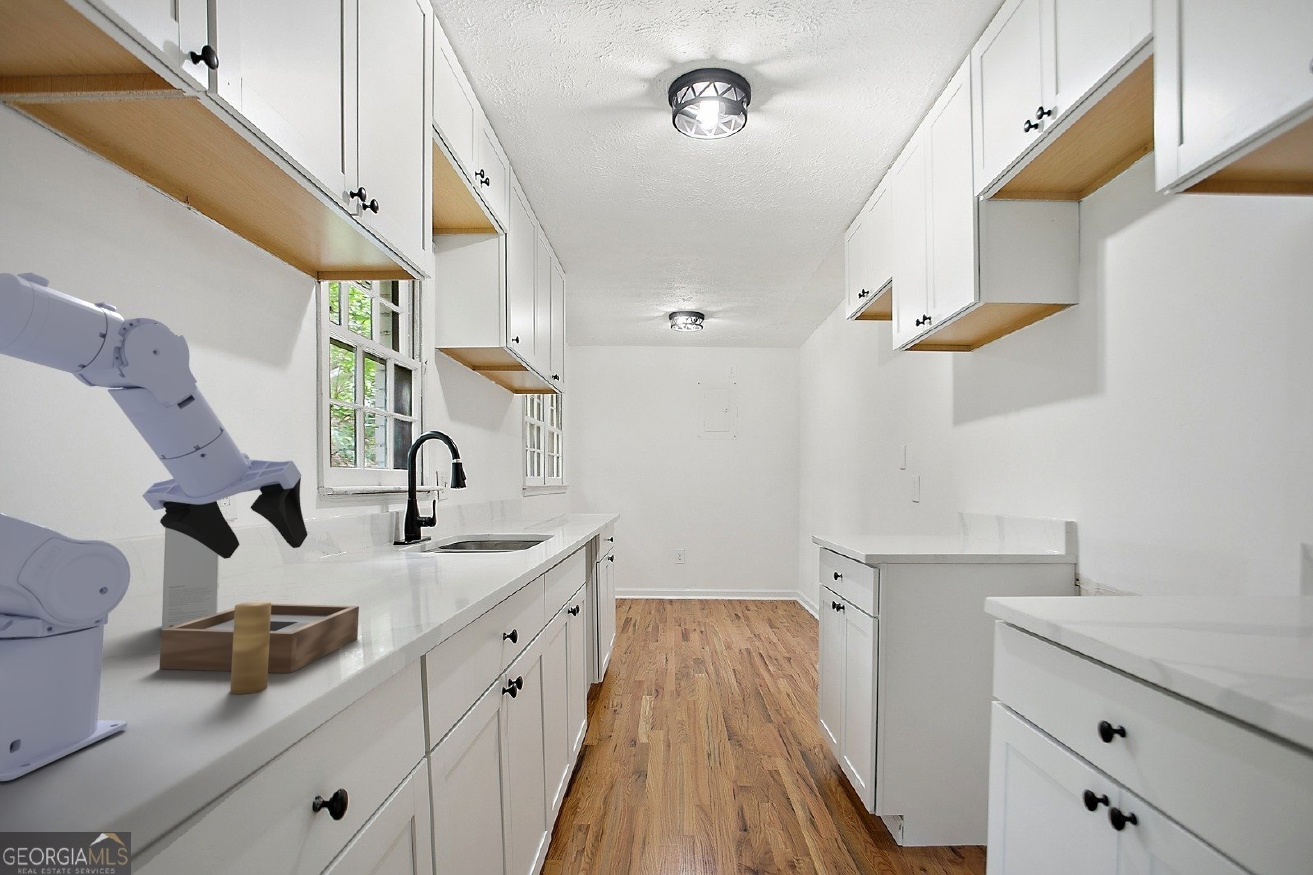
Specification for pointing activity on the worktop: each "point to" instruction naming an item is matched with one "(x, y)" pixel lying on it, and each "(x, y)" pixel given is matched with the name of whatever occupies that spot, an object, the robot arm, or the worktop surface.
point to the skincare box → (188, 580)
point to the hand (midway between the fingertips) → (266, 546)
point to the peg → (250, 647)
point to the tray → (291, 644)
